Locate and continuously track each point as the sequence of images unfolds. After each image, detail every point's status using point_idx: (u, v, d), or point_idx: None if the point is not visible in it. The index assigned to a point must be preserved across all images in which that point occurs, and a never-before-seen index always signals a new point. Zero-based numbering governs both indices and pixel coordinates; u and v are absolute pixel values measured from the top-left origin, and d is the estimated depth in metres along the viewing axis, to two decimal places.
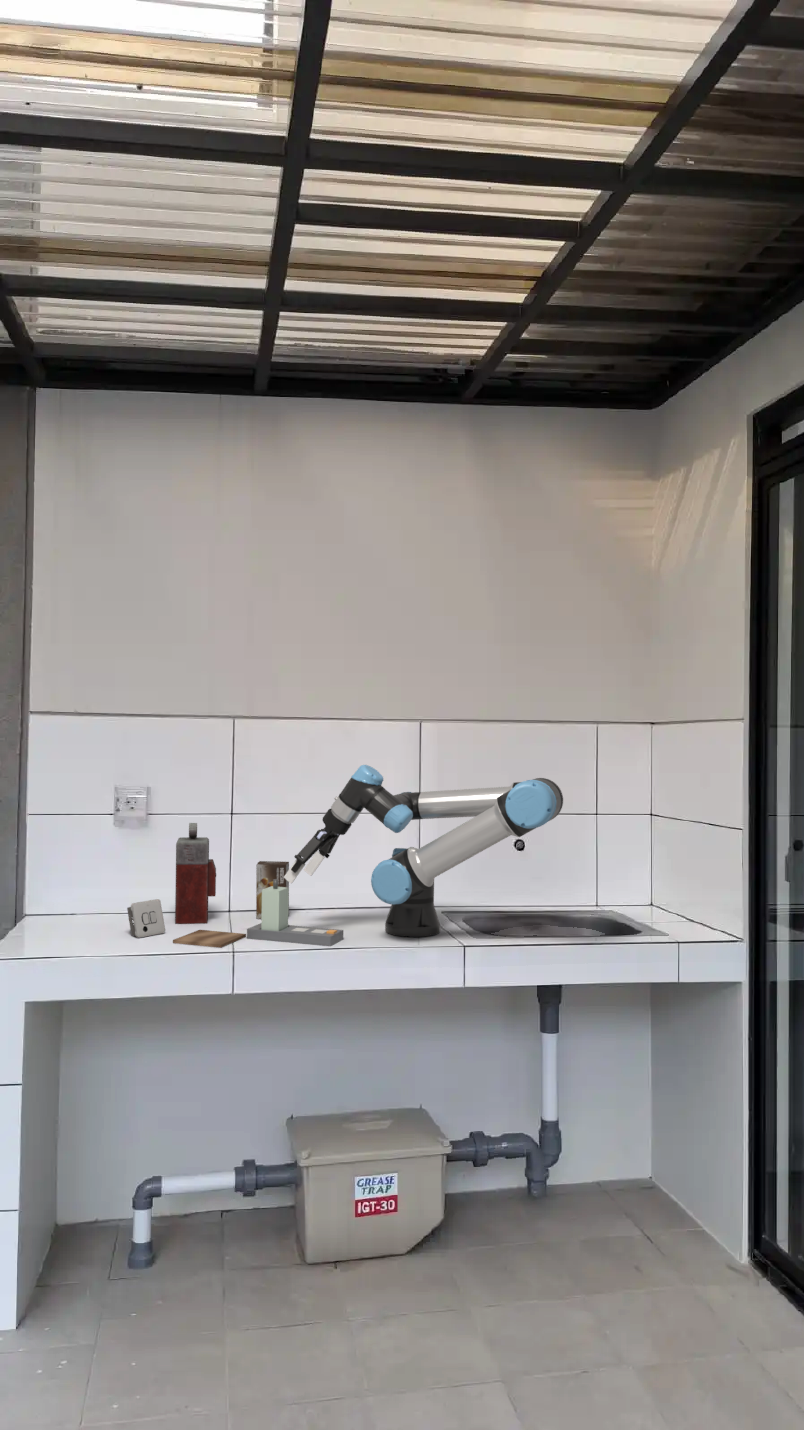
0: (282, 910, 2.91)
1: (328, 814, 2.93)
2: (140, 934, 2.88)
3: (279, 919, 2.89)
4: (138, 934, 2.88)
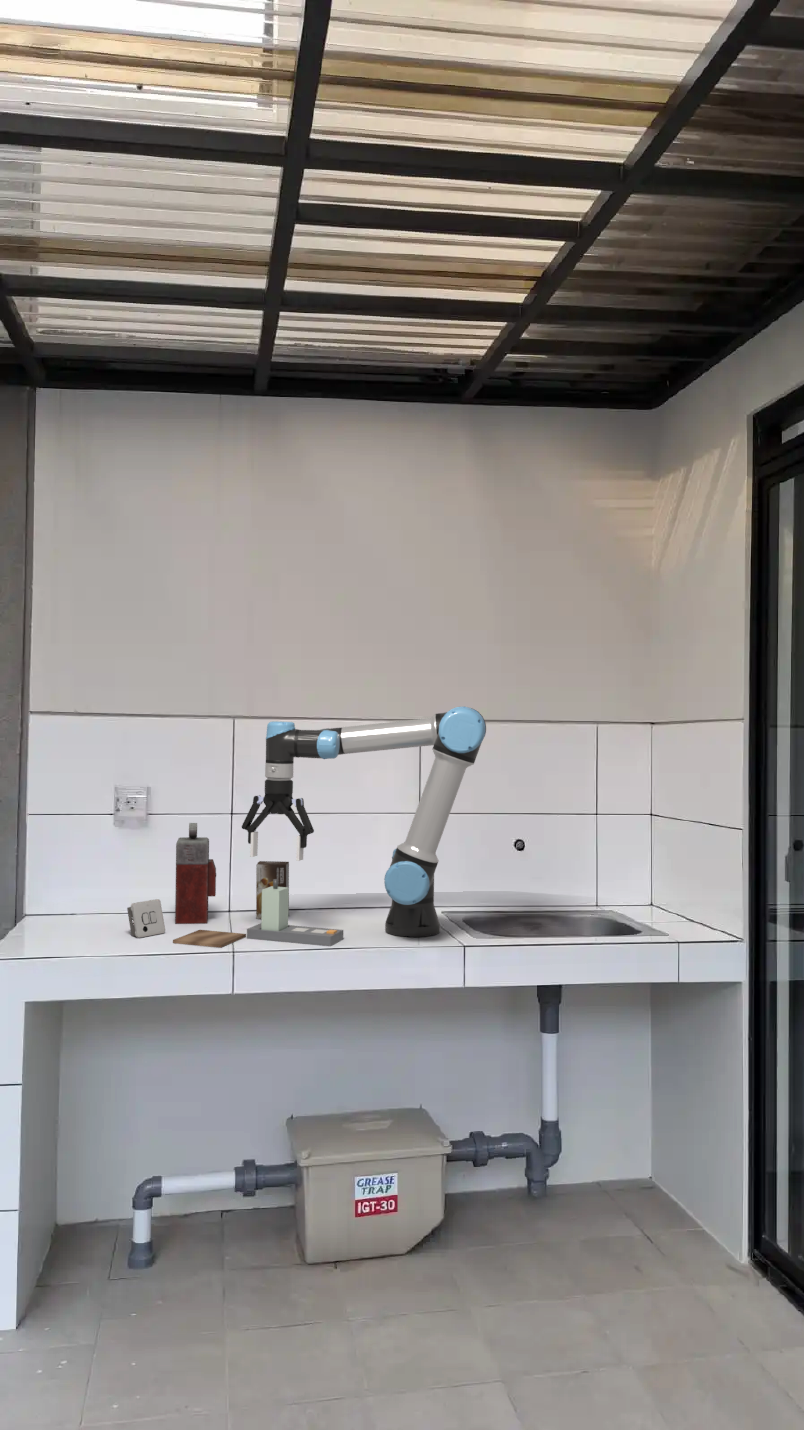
0: (282, 910, 2.91)
1: (284, 784, 2.89)
2: (140, 934, 2.88)
3: (279, 919, 2.89)
4: (138, 934, 2.88)
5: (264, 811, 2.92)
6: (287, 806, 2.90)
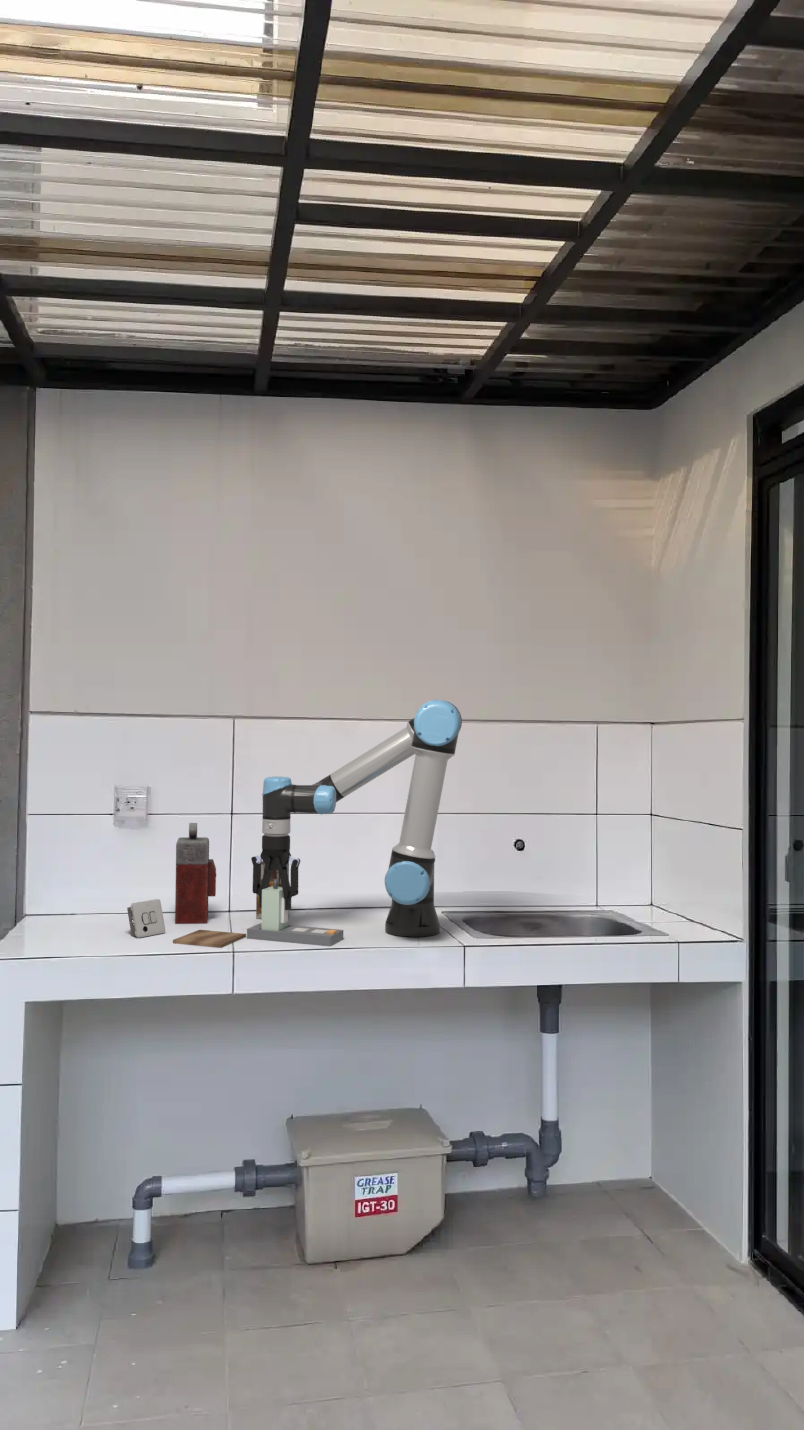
0: None
1: (282, 840, 2.89)
2: (140, 934, 2.88)
3: (279, 919, 2.89)
4: (138, 934, 2.88)
5: (266, 869, 2.91)
6: (285, 862, 2.90)
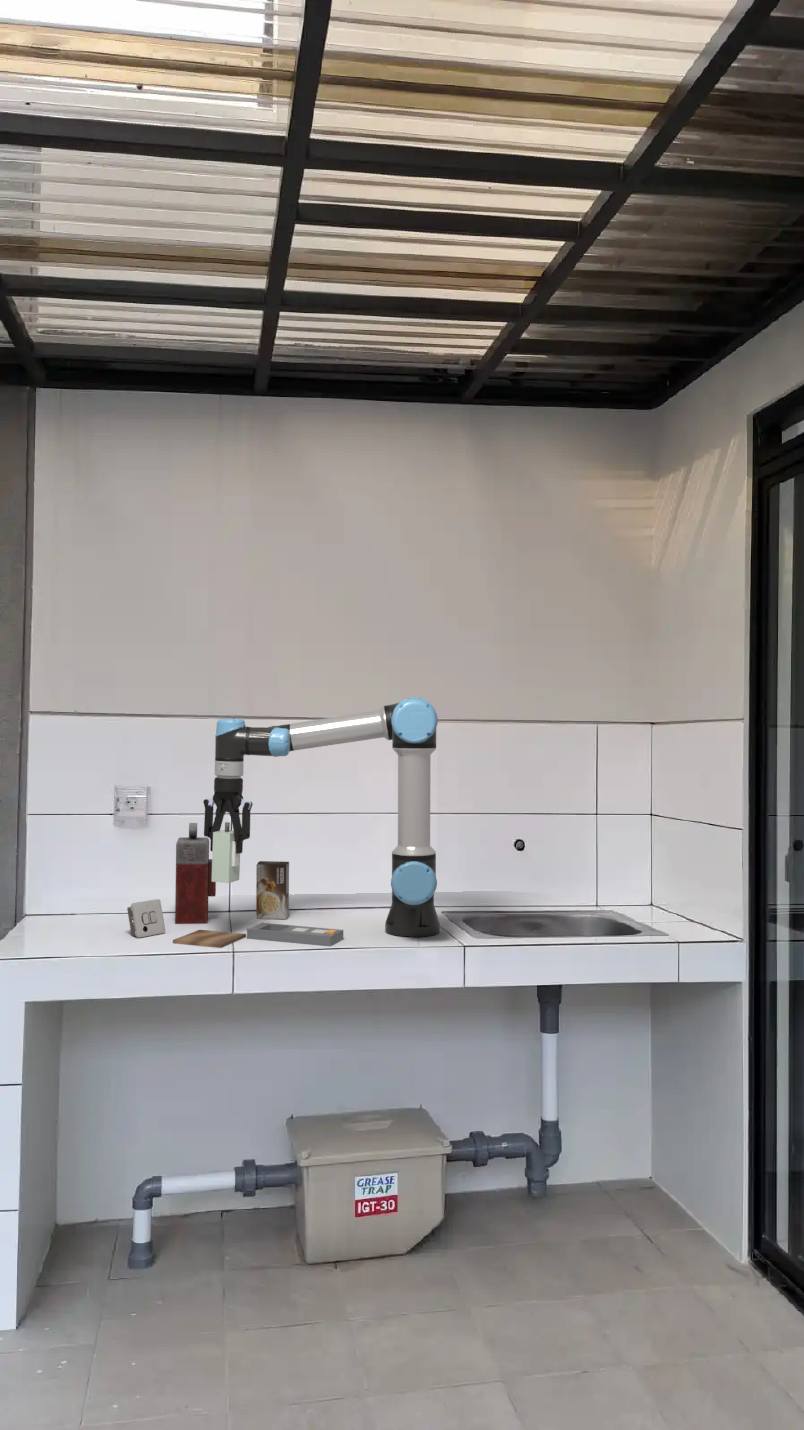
0: None
1: (234, 782, 2.85)
2: (140, 934, 2.88)
3: (229, 862, 2.86)
4: (138, 934, 2.88)
5: (217, 812, 2.88)
6: (236, 804, 2.87)
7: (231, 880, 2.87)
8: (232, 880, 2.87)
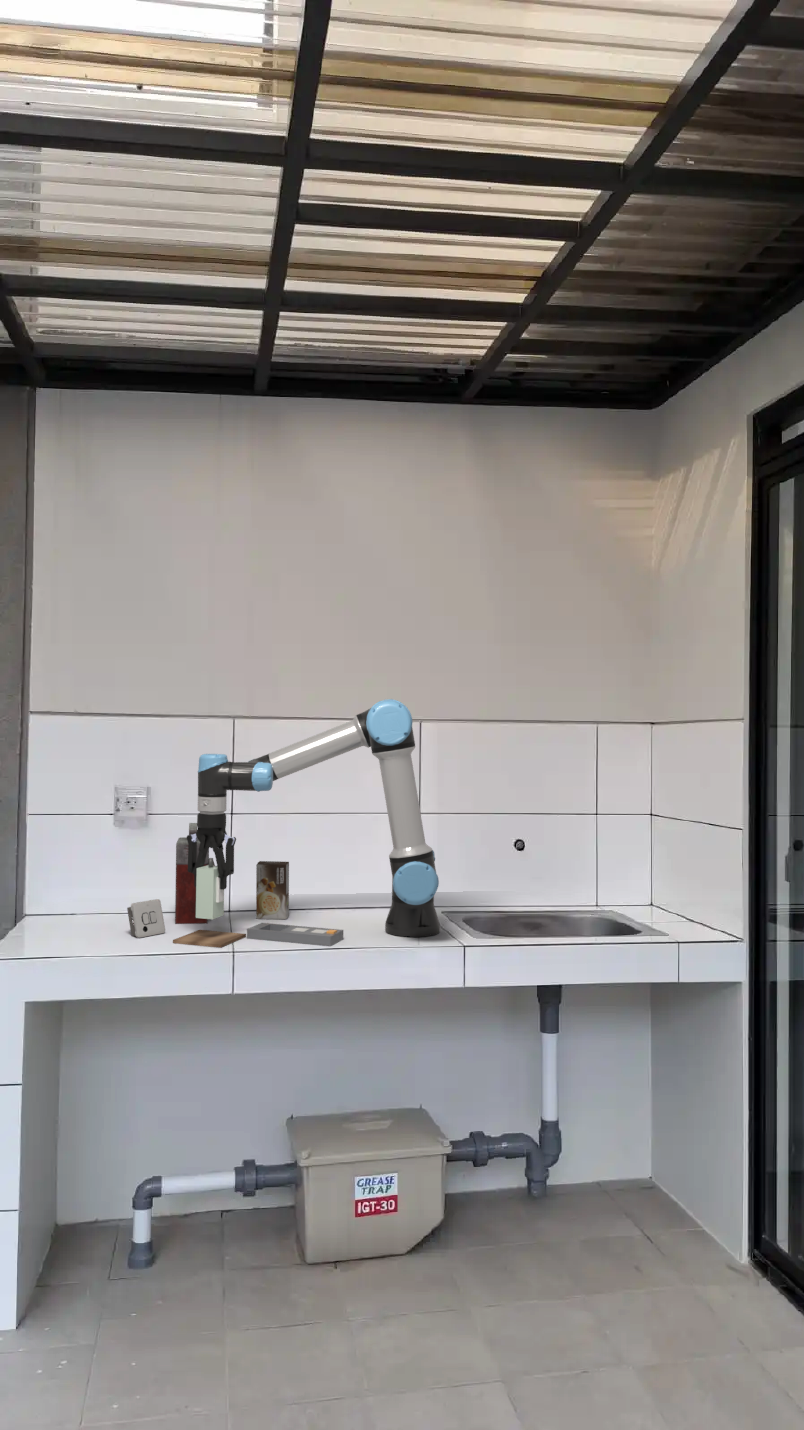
0: None
1: (217, 818, 2.84)
2: (140, 934, 2.88)
3: (213, 898, 2.84)
4: (138, 934, 2.88)
5: (201, 848, 2.86)
6: (220, 840, 2.85)
7: (215, 916, 2.85)
8: (216, 916, 2.86)
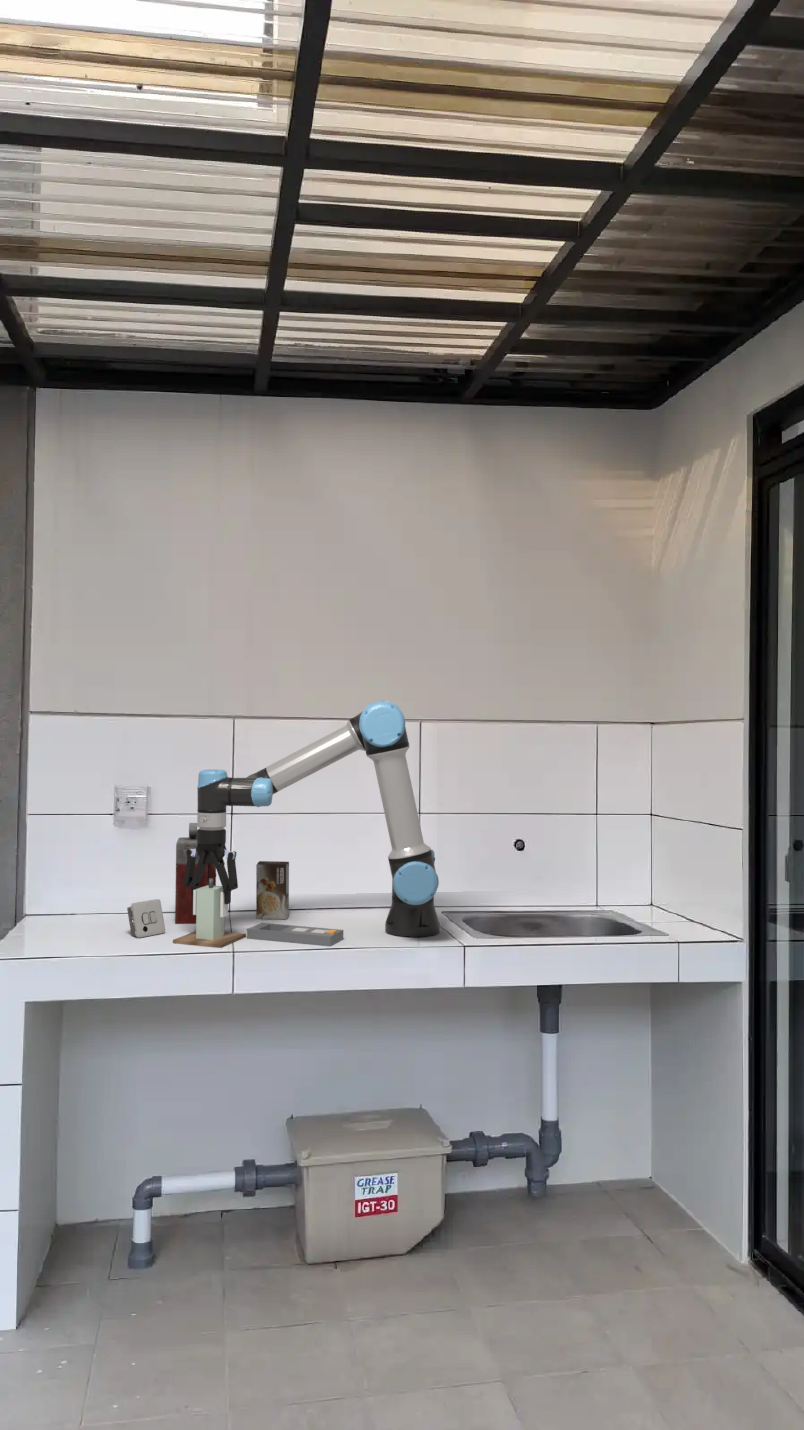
0: (217, 910, 2.86)
1: (217, 833, 2.84)
2: (140, 934, 2.88)
3: (214, 919, 2.84)
4: (138, 934, 2.88)
5: (200, 863, 2.87)
6: (220, 856, 2.85)
7: (216, 936, 2.86)
8: (217, 936, 2.86)
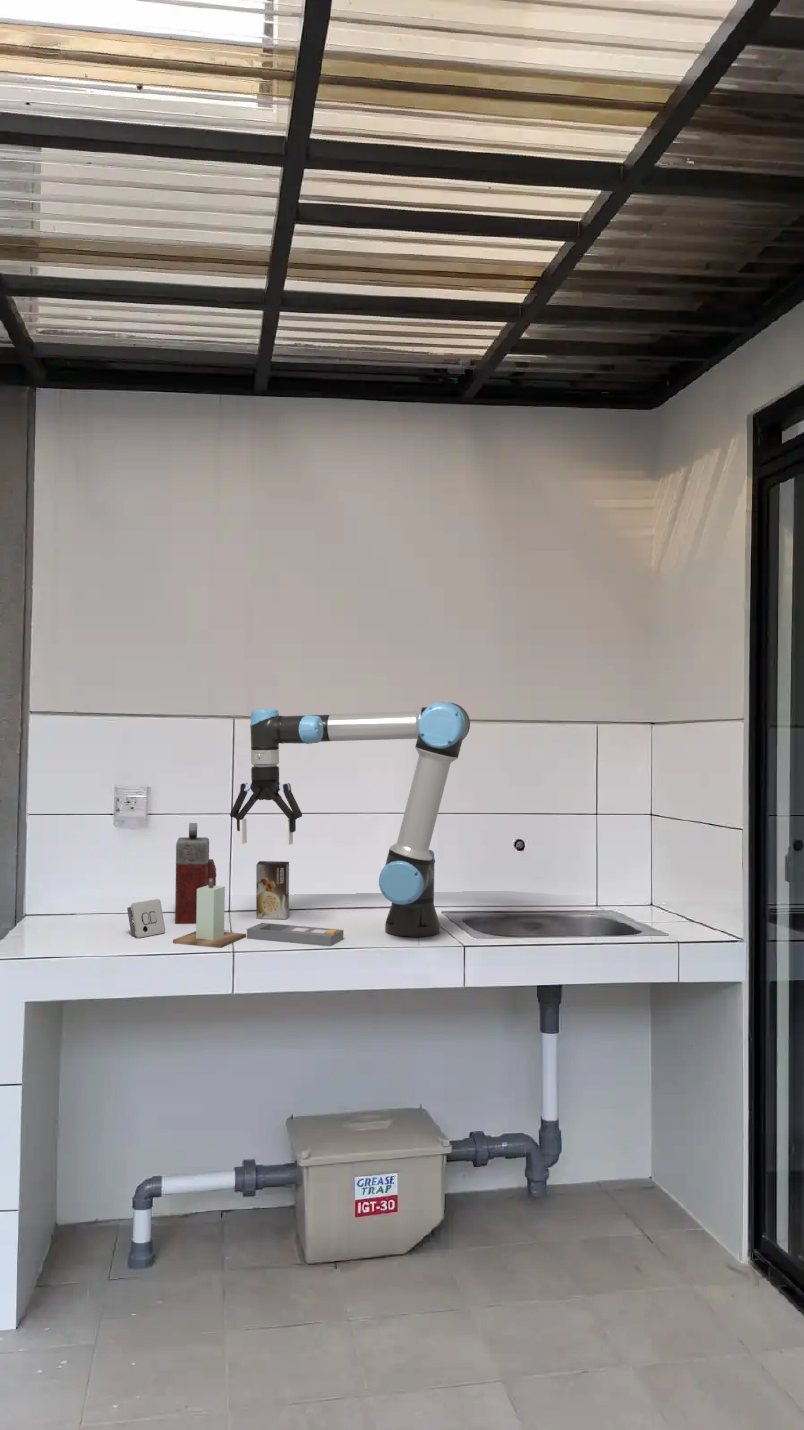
0: (217, 910, 2.86)
1: (271, 770, 2.93)
2: (140, 934, 2.88)
3: (214, 919, 2.84)
4: (138, 934, 2.88)
5: (252, 798, 2.95)
6: (274, 792, 2.94)
7: (216, 936, 2.86)
8: (217, 936, 2.86)
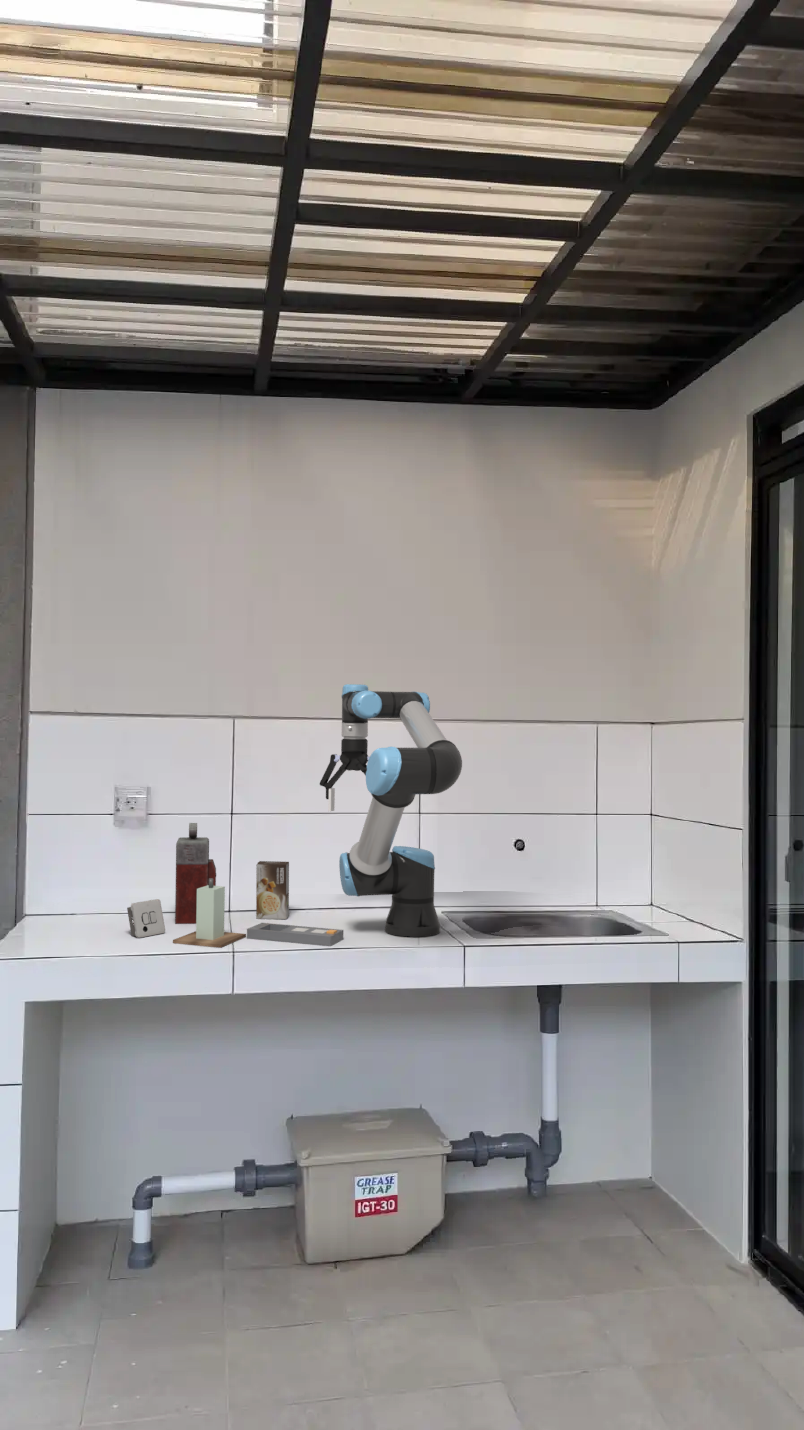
0: (217, 910, 2.86)
1: (361, 742, 3.10)
2: (140, 934, 2.88)
3: (214, 919, 2.84)
4: (138, 934, 2.88)
5: (341, 768, 3.12)
6: (363, 763, 3.11)
7: (216, 936, 2.86)
8: (217, 936, 2.86)
